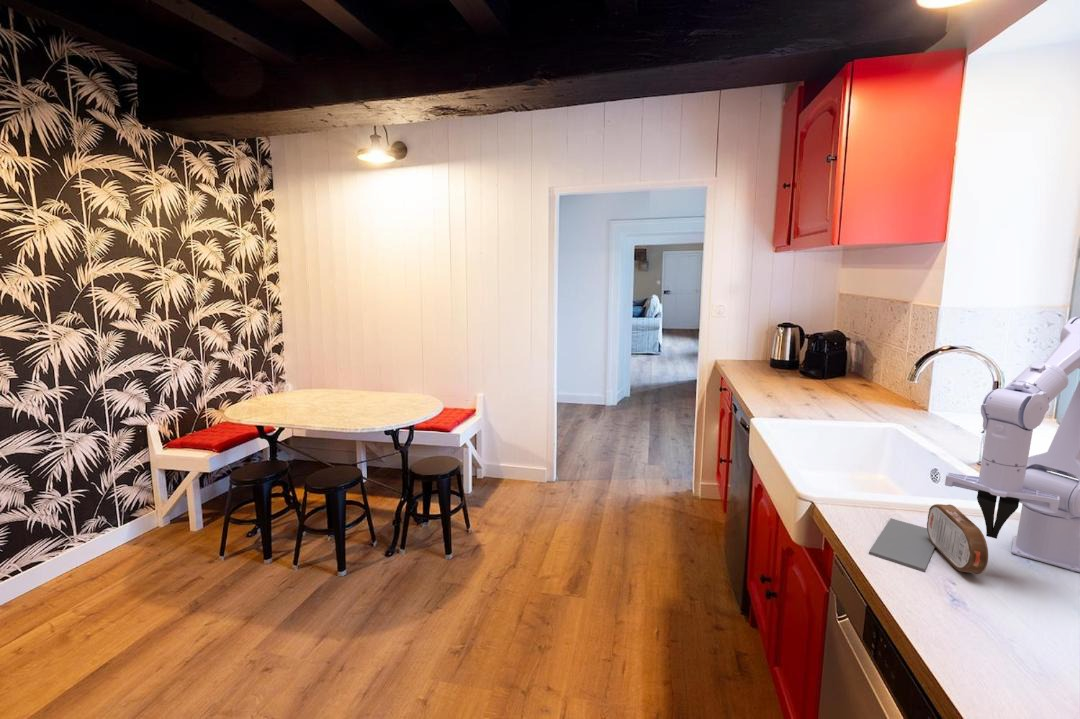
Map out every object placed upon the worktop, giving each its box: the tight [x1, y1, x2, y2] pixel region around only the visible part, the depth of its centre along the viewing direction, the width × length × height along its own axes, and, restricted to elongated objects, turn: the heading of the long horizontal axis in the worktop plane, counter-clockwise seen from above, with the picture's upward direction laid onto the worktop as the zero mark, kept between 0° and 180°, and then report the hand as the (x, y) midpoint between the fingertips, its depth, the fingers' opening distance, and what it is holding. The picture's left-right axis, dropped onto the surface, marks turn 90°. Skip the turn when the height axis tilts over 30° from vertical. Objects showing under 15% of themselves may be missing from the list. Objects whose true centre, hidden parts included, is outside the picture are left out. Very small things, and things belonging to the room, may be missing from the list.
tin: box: [926, 503, 989, 575], centre depth 95 cm, size 15×3×8 cm, turn 168°
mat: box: [868, 517, 936, 573], centre depth 102 cm, size 8×18×1 cm, turn 136°
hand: (991, 535), depth 92 cm, fingers closed
